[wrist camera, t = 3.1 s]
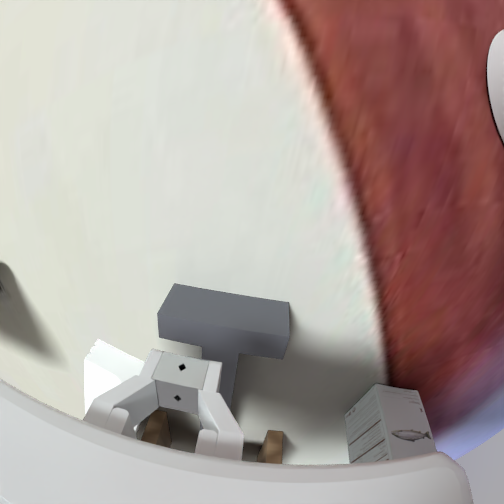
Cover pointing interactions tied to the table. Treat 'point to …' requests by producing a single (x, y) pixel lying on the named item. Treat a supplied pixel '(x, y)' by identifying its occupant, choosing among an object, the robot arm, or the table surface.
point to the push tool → (225, 327)
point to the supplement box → (388, 426)
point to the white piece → (107, 371)
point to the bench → (160, 436)
